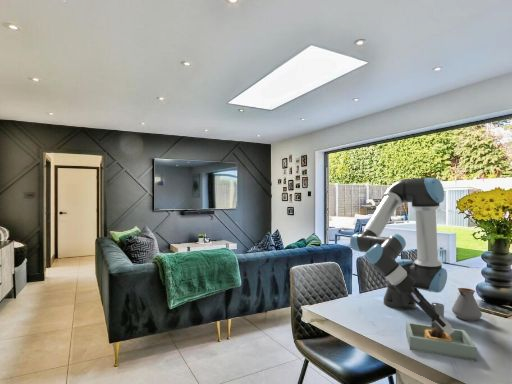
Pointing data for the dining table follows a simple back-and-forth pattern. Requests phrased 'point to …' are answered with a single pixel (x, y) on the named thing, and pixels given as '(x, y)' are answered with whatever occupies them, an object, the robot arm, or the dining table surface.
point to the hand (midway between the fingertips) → (449, 330)
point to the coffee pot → (466, 305)
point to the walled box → (440, 342)
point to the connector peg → (435, 328)
